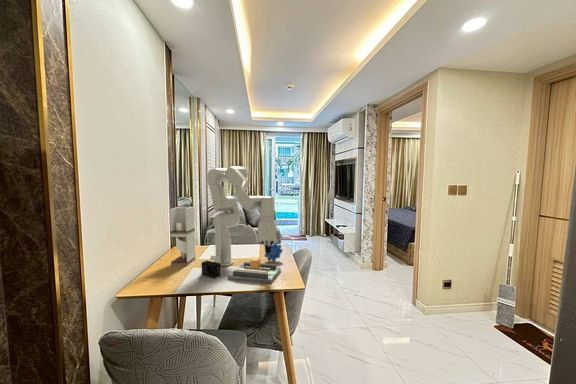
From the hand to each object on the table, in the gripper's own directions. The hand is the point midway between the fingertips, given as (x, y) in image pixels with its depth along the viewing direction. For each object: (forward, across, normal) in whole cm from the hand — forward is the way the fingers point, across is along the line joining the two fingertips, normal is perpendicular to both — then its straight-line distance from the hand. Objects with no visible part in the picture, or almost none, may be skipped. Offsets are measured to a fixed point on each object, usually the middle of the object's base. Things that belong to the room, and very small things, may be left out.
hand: (268, 253), depth 139 cm
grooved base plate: (+11, -8, 0) cm, 13 cm away
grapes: (+13, -6, +27) cm, 31 cm away
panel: (+13, -8, 0) cm, 15 cm away
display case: (+12, -61, +10) cm, 63 cm away
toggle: (+10, -8, 0) cm, 13 cm away
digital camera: (+12, -32, -6) cm, 35 cm away
